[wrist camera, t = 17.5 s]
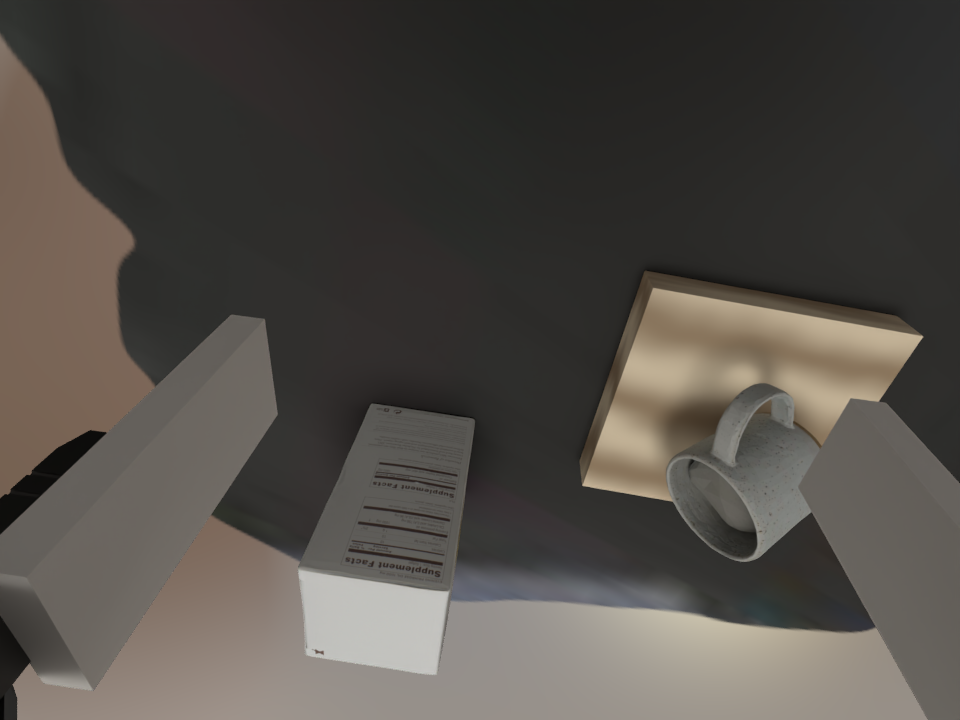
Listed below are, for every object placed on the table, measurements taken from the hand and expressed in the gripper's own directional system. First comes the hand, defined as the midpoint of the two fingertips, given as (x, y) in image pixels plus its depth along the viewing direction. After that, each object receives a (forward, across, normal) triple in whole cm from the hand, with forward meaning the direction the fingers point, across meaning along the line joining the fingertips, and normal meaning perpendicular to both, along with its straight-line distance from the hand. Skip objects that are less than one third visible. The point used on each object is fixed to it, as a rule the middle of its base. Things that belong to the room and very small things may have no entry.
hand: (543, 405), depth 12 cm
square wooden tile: (+26, +17, -16) cm, 34 cm away
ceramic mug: (+23, +16, -16) cm, 32 cm away
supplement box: (+25, -7, -26) cm, 37 cm away
